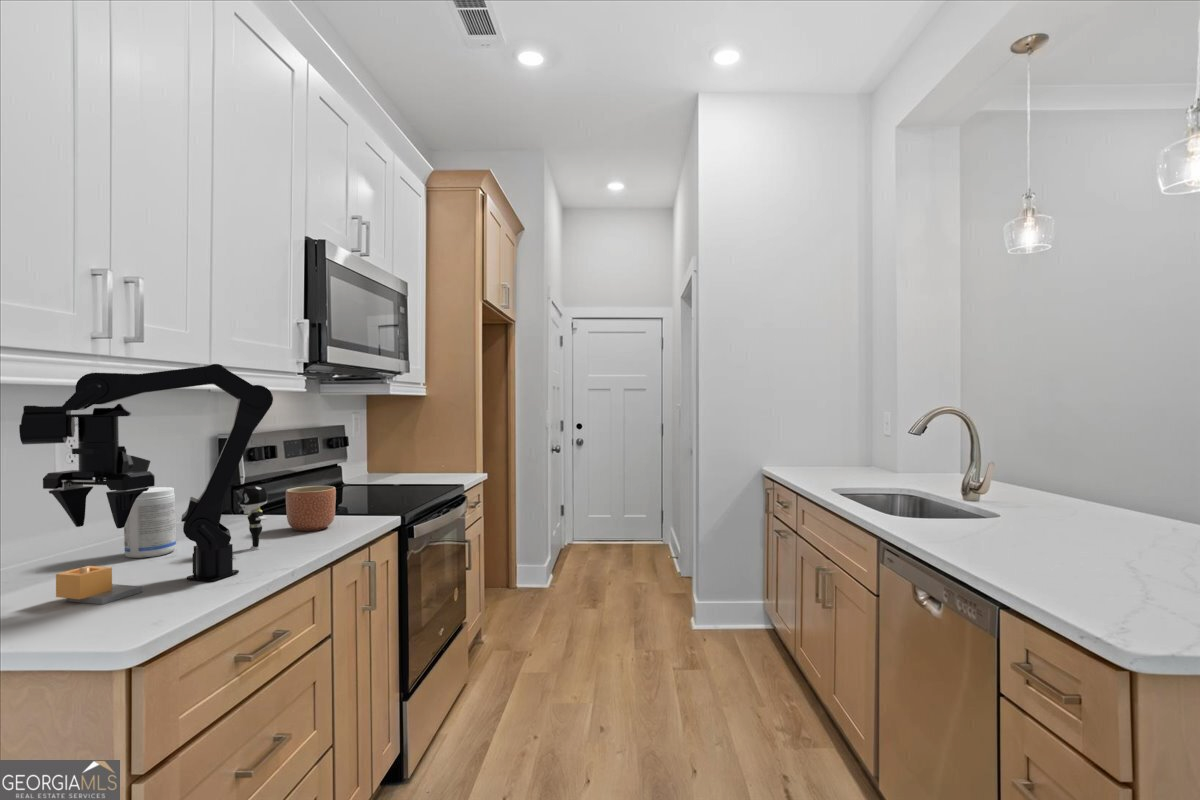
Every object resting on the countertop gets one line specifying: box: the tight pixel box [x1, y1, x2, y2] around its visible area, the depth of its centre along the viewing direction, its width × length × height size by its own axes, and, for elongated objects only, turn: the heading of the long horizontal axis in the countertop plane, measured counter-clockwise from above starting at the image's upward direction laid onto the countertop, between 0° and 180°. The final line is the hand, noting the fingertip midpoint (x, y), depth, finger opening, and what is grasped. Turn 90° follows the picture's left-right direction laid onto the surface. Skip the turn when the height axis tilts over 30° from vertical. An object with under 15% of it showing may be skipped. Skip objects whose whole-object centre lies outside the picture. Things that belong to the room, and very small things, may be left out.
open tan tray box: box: [55, 565, 113, 599], centre depth 108 cm, size 5×5×4 cm
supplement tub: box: [123, 486, 177, 559], centre depth 140 cm, size 10×10×15 cm
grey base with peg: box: [66, 566, 143, 605], centre depth 109 cm, size 8×7×6 cm
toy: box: [239, 484, 269, 551], centre depth 144 cm, size 13×6×15 cm, turn 42°
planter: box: [285, 485, 337, 532], centre depth 167 cm, size 12×12×11 cm
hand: (100, 527), depth 112 cm, fingers open, 9 cm apart
